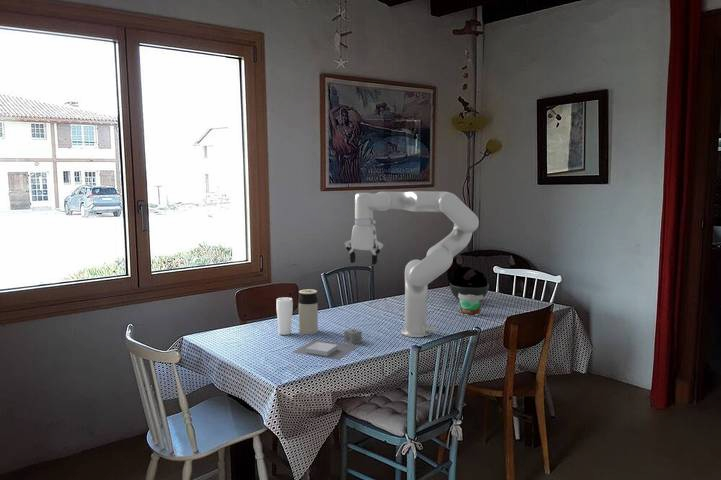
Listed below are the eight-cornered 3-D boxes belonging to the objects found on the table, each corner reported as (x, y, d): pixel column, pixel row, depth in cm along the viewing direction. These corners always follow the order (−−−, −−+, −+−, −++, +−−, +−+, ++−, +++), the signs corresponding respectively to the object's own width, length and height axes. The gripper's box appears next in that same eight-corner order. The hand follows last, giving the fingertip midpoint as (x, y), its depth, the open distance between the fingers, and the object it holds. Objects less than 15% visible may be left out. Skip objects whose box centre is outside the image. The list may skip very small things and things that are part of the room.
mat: (359, 346, 232) (359, 345, 232) (339, 360, 215) (339, 359, 215) (314, 340, 240) (314, 339, 240) (291, 353, 223) (291, 352, 223)
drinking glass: (279, 336, 244) (279, 301, 242) (274, 332, 250) (274, 298, 248) (295, 334, 248) (294, 299, 246) (289, 330, 253) (289, 296, 252)
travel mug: (310, 336, 246) (310, 293, 243) (295, 333, 250) (294, 291, 248) (321, 331, 252) (321, 290, 250) (306, 328, 257) (306, 288, 254)
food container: (454, 315, 282) (455, 294, 280) (457, 312, 287) (458, 292, 286) (480, 317, 277) (481, 297, 276) (483, 314, 283) (483, 294, 281)
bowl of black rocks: (449, 298, 318) (450, 263, 315) (486, 299, 315) (488, 264, 312) (449, 306, 298) (450, 270, 296) (489, 308, 295) (491, 271, 293)
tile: (337, 344, 226) (327, 351, 218) (337, 349, 226) (327, 356, 218) (317, 341, 230) (305, 348, 222) (317, 346, 230) (305, 353, 222)
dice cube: (351, 345, 234) (351, 333, 233) (344, 342, 238) (344, 330, 237) (361, 343, 237) (361, 331, 236) (354, 340, 241) (354, 328, 240)
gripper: (386, 222, 243) (386, 263, 245) (348, 220, 250) (348, 260, 252) (379, 224, 236) (379, 266, 239) (341, 222, 243) (340, 263, 246)
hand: (363, 263), depth 246 cm, fingers open, 9 cm apart
